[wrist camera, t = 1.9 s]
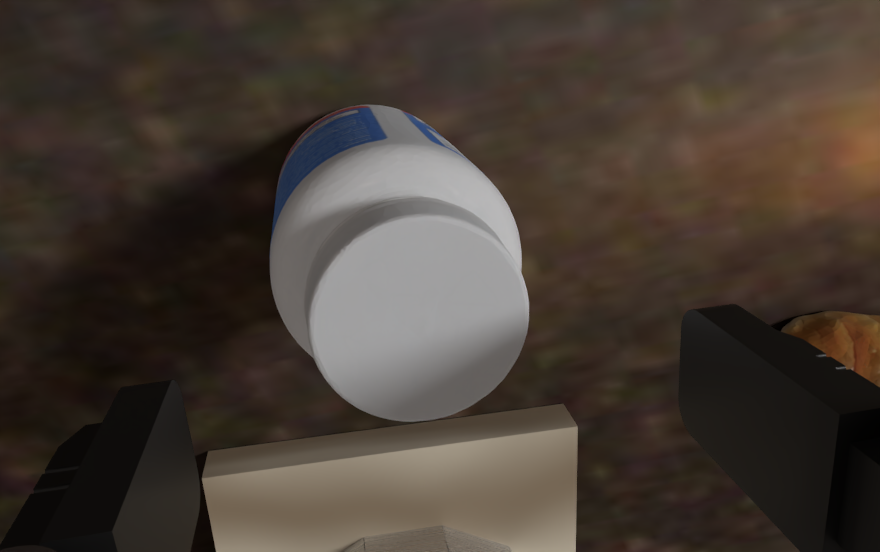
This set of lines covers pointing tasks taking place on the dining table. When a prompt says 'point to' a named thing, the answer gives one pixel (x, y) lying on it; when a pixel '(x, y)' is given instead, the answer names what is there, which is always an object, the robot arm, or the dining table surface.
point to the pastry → (843, 339)
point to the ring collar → (427, 542)
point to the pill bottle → (396, 265)
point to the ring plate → (402, 484)
